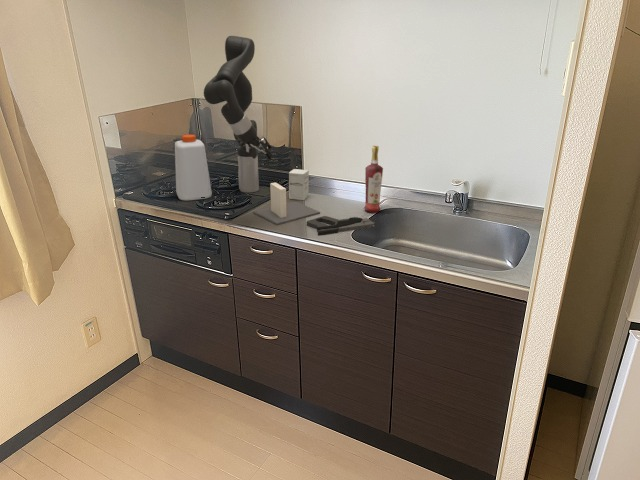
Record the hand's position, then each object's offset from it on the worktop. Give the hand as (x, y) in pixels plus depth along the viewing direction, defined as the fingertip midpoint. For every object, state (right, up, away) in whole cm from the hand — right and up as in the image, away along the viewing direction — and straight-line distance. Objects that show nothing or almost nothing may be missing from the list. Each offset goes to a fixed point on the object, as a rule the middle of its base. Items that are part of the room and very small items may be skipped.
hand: (263, 157), depth 201 cm
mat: (+8, -21, +13) cm, 27 cm away
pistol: (+31, -27, +2) cm, 41 cm away
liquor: (+45, -20, +17) cm, 52 cm away
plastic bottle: (-36, -12, +35) cm, 52 cm away
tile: (+5, -22, +11) cm, 25 cm away
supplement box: (+13, -13, +33) cm, 38 cm away
